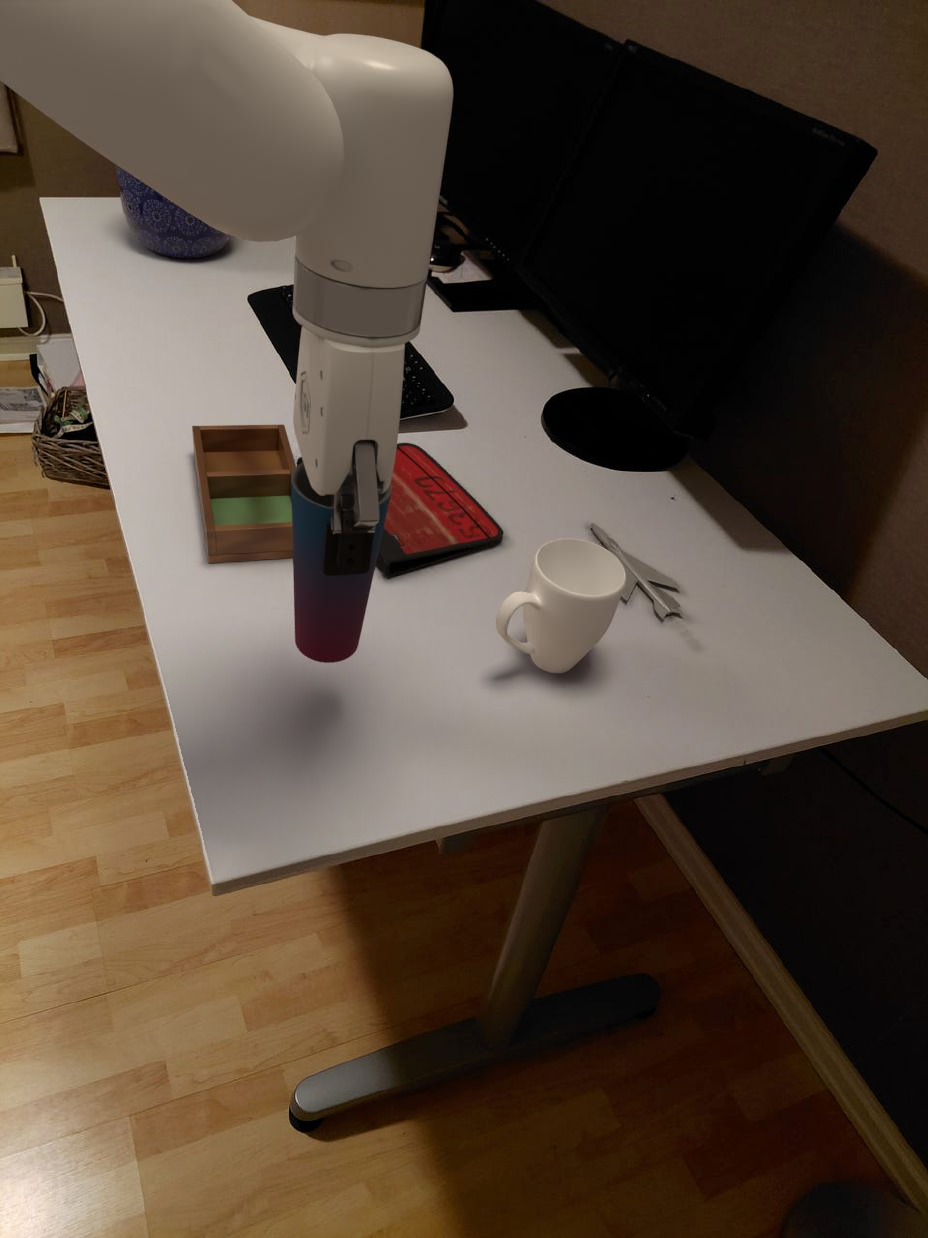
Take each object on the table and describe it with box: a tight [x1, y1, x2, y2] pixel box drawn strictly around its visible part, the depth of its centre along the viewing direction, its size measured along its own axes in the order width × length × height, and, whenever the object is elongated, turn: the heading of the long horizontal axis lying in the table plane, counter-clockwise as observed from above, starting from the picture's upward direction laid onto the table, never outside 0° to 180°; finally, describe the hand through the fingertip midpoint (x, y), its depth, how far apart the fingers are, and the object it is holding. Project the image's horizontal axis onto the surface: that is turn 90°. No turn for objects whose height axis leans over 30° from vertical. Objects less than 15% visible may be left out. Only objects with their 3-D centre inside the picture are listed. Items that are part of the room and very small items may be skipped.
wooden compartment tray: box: [191, 424, 297, 564], centre depth 91 cm, size 10×20×4 cm, turn 17°
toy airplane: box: [590, 522, 699, 646], centre depth 91 cm, size 8×21×2 cm, turn 25°
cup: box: [291, 462, 392, 664], centre depth 62 cm, size 7×7×15 cm
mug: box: [495, 537, 626, 674], centre depth 77 cm, size 12×8×11 cm
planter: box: [114, 163, 231, 259], centre depth 135 cm, size 18×18×21 cm
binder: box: [296, 442, 504, 579], centre depth 95 cm, size 16×2×21 cm
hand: (336, 540), depth 61 cm, fingers closed on cup, 6 cm apart
